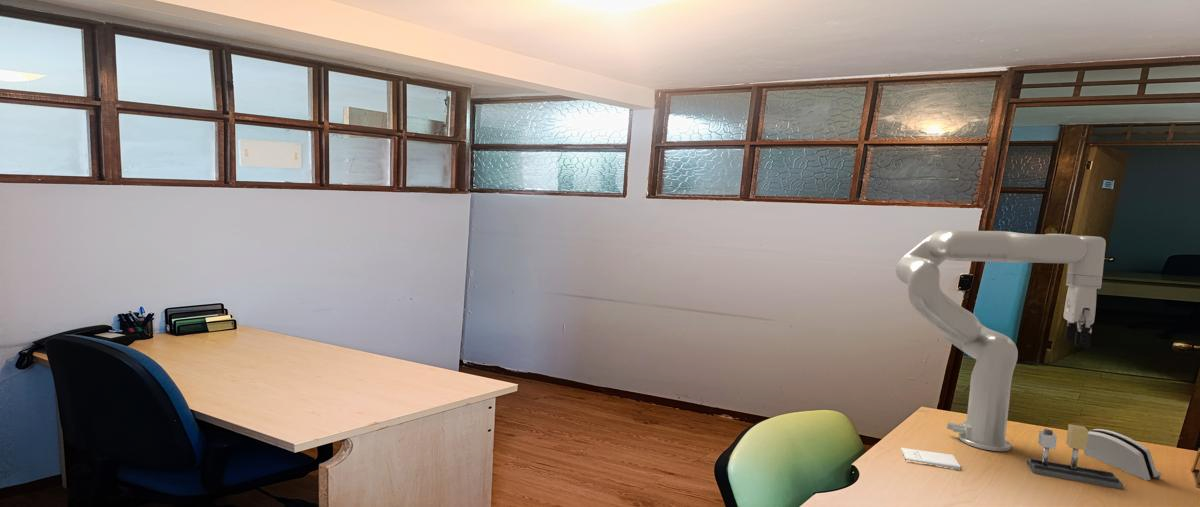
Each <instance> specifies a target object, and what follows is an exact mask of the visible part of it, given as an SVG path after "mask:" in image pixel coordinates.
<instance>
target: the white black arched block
mask: <svg viewBox="0 0 1200 507" xmlns="http://www.w3.org/2000/svg"><path fill="white" fill-rule="evenodd" d="M1083 455H1085V456H1088V457H1090V458H1092V459H1095V460H1097V461H1100V462H1101V461H1102V462H1101V463H1104V464H1106V463H1107V464H1106V465H1108V464H1109V465H1108V466H1111V467H1113V466H1114V468H1115V469H1118V468H1119V469H1118V470H1120V469H1121V471H1123V472H1125V471H1126V473H1127V472H1128V474H1131V475H1132V474H1133V475H1132V476H1134V475H1135V476H1134V477H1137V476H1138V477H1137V478H1139V477H1140V478H1139V479H1141V478H1142V479H1141V480H1144V479H1145V480H1144V481H1151V479H1152V478H1155V477H1156V478H1155V479H1157V478H1159V479H1158V480H1160V479H1161V480H1162V475H1161V472H1159V471H1157V469H1156V465H1155V463H1154V460H1153V456H1152V453H1151V451H1150V449H1149V448H1147V447H1146V446H1144V445H1142V444H1141V443H1140V442H1138V441H1136V440H1134V439H1132V438H1131V437H1129V436H1126V435H1124V434H1121V433H1118V432H1116V431H1112V430H1108V429H1101V428H1094V429H1090V430H1088V437H1087V445H1086V450H1083ZM1151 477H1152V478H1151Z"/></svg>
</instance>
